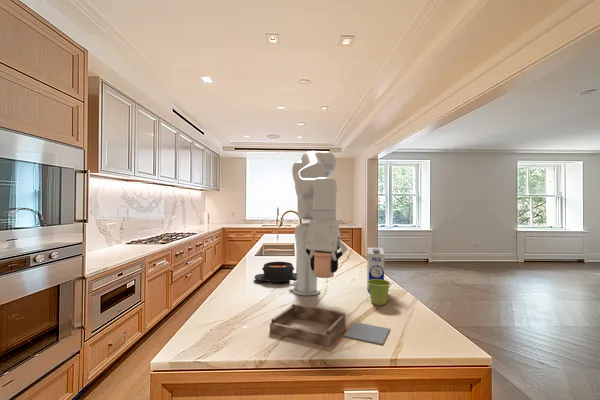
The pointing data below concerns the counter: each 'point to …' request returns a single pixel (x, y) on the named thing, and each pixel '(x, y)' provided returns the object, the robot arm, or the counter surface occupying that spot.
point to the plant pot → (378, 291)
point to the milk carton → (375, 264)
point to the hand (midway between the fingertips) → (323, 270)
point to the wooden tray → (310, 314)
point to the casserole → (277, 272)
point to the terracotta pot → (322, 264)
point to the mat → (367, 333)
